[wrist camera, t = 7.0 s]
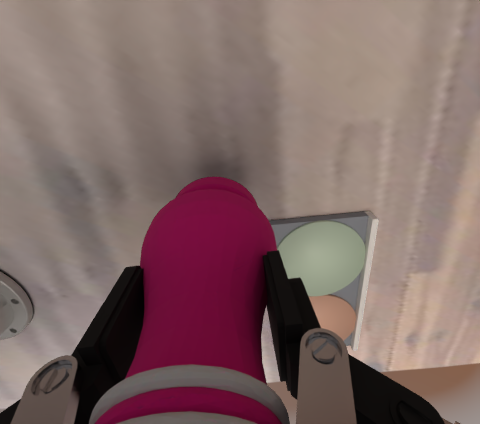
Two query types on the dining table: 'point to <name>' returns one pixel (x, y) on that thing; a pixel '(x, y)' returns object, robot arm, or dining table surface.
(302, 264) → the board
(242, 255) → the pepper mill
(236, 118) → the dining table surface
